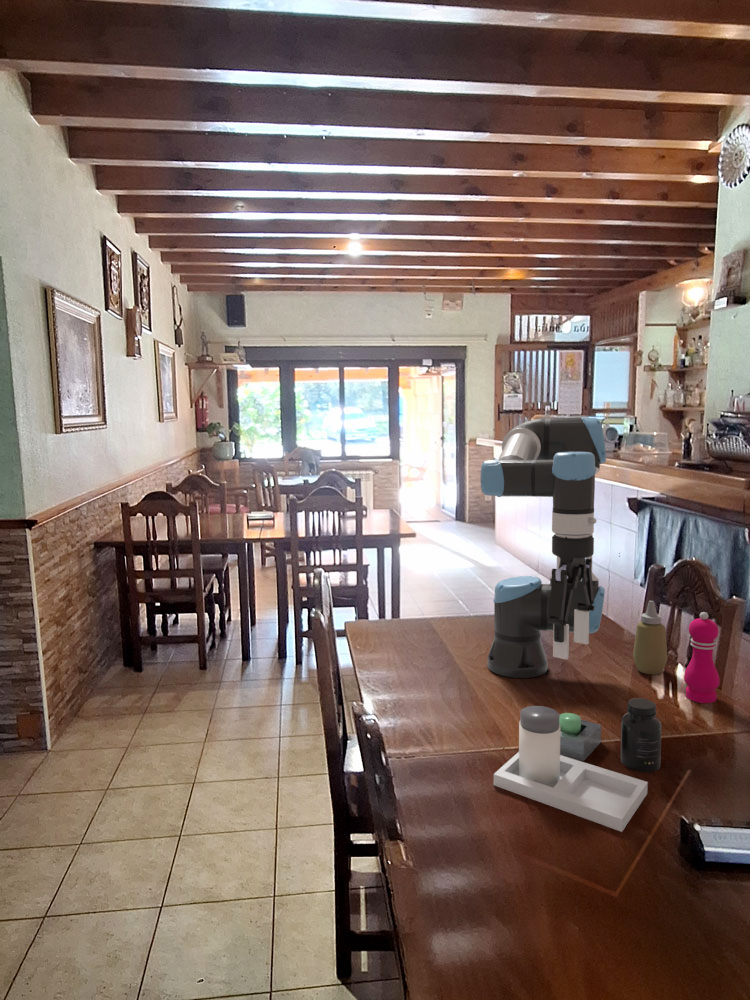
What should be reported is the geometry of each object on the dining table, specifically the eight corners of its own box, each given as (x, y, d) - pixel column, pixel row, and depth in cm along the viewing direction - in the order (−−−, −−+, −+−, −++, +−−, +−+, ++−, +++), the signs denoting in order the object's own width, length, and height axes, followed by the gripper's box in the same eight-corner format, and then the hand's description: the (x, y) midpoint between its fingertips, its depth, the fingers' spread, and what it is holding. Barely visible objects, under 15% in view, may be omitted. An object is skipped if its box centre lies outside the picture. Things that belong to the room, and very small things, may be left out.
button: (555, 734, 127) (556, 718, 127) (564, 726, 130) (564, 711, 130) (575, 740, 125) (576, 724, 124) (583, 732, 128) (584, 716, 127)
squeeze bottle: (665, 666, 168) (667, 598, 166) (668, 678, 160) (670, 606, 158) (631, 663, 170) (633, 596, 168) (633, 675, 163) (634, 604, 161)
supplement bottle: (613, 757, 124) (615, 696, 122) (648, 754, 124) (650, 694, 123) (631, 776, 117) (632, 712, 116) (667, 774, 117) (669, 710, 116)
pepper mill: (723, 705, 145) (726, 617, 142) (687, 703, 146) (691, 616, 144) (713, 692, 152) (716, 608, 149) (679, 690, 153) (682, 607, 151)
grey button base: (538, 749, 127) (538, 729, 127) (557, 731, 134) (557, 713, 134) (583, 763, 122) (583, 743, 121) (600, 744, 129) (601, 725, 128)
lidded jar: (512, 781, 115) (512, 715, 114) (529, 764, 121) (529, 702, 119) (549, 794, 111) (550, 726, 110) (566, 776, 116) (566, 711, 115)
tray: (493, 787, 114) (493, 774, 114) (526, 757, 124) (526, 744, 124) (621, 834, 101) (622, 819, 100) (647, 796, 111) (647, 782, 110)
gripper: (569, 545, 112) (567, 672, 115) (613, 527, 129) (610, 638, 132) (528, 541, 117) (527, 663, 119) (575, 524, 134) (574, 631, 136)
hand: (571, 649), depth 126 cm, fingers open, 9 cm apart
